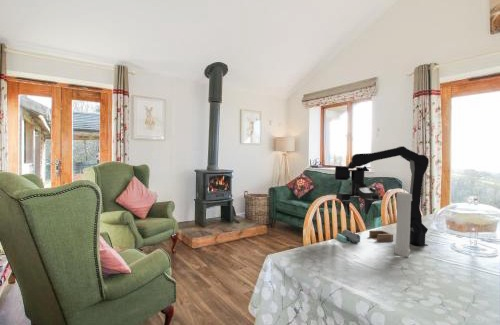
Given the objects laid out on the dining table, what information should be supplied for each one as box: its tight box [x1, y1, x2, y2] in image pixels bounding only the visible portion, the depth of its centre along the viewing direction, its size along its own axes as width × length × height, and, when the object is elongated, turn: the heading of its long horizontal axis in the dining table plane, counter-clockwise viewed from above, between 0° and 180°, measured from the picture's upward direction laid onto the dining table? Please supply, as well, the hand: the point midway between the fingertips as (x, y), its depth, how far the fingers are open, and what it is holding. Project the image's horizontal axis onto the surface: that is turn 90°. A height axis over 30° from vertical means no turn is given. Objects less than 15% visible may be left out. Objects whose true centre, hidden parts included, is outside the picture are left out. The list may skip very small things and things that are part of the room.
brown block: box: [368, 229, 394, 243], centre depth 132 cm, size 7×7×4 cm
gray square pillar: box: [394, 178, 412, 258], centre depth 113 cm, size 6×6×30 cm
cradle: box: [336, 233, 361, 243], centre depth 130 cm, size 7×8×2 cm
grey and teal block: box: [341, 229, 361, 244], centre depth 129 cm, size 8×4×4 cm, turn 15°
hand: (357, 214), depth 132 cm, fingers open, 9 cm apart
